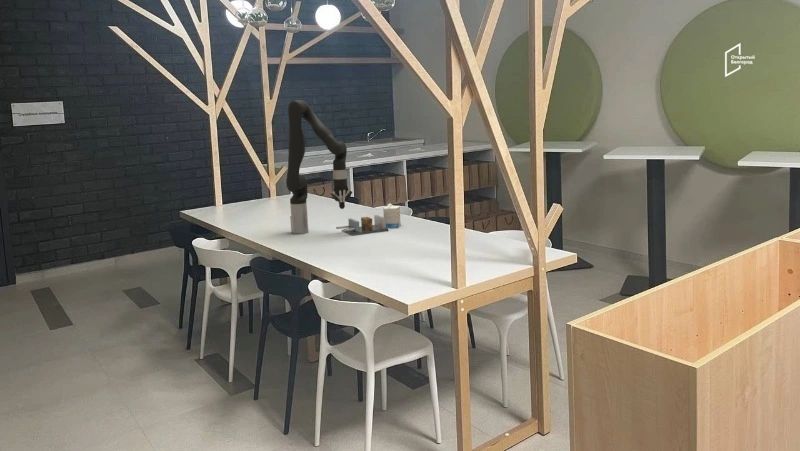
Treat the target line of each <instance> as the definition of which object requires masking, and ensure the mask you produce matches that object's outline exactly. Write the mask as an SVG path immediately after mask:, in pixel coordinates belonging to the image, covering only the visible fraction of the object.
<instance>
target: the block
mask: <svg viewBox="0 0 800 451" xmlns="http://www.w3.org/2000/svg"><path fill="white" fill-rule="evenodd" d="M360 221H361V222H360V223H361V224H360V225H361V226H360V227H362V228H363V229H365V230H369V229H373V226H372V225H373V218H372V217H370V216H364V217H363V216H362V217H360Z"/></svg>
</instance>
